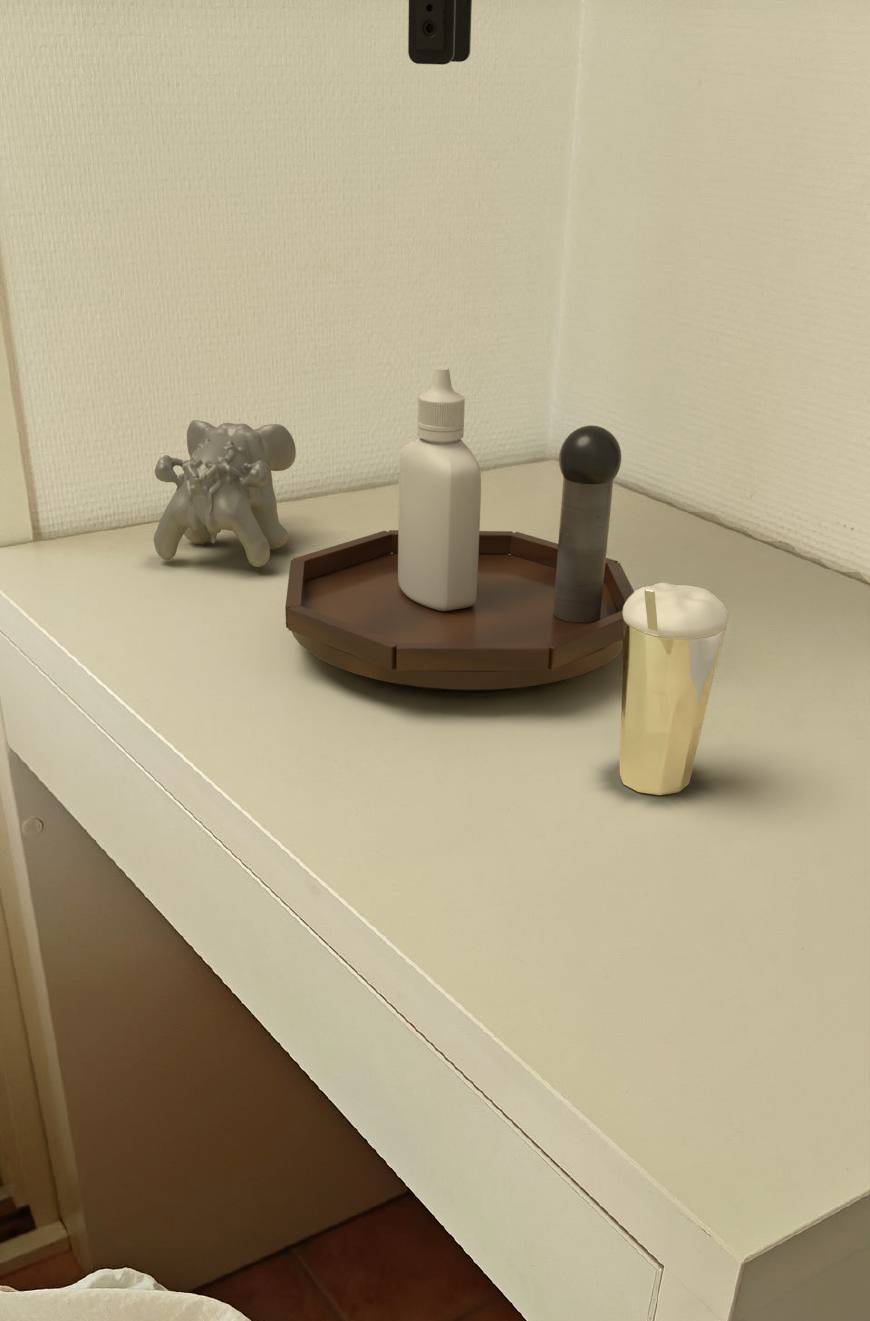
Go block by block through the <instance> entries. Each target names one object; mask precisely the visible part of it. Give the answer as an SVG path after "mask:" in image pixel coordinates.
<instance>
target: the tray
mask: <svg viewBox="0 0 870 1321" xmlns="http://www.w3.org/2000/svg"><path fill="white" fill-rule="evenodd" d="M621 464H622V450H621V446H620V444H619V442H618V439H617V438H616V437H615V435H614V434H613V433H612V432H611V431H610V430H608V429H606V428H605V427H602V426H598V425H585V426H581V427H579V428H577V429H575V430H573V431H572V432H570V433H569V435H568V436H567V437H566V438H565V439H564V441H563V443H562V444H561V447H560V450H559V455H558V466H559V470H560V472H561V475H562V476H563V478H562V489H561V490H562V491H561V505H560V515H559V516H560V517H559V529H558V542H553V541H549V540H546V539H544V538H540V537H536V536H532V535H529V534H525V533H523V532H519V531H515V532H513V531H511V530H480V531H479V555H478V578H477V599H476V602H475V604H474V605H473V606H471V607H467V608H462V609H457V610H451V611H439V610H435V609H432V608H429V607H426V606H423V605H421V604H418V603H416V602H415V601H413V600H411V599H410V598H408V597H407V596H406V595H405V594H404V593H403V591H402V590H401V588H400V586H399V582H398V529H390V530H382V531H379V532H375V533H373V534H369V535H365V536H363V537H359V538H355V539H352V540H349V541H346V542H342V543H339V544H337V545H333V546H329V547H326V548H322V549H320V550H316V551H313V552H311V553H310V552H309V553H306V554H303V555H300V556H297V557H293V558H292V559H291V560H290V564H289V573H288V582H287V589H286V598H285V607H284V608H285V610H284V612H285V628H286V629H287V630H288V631H290V632H291V633H292V636H293V638H294V639H295V640H296V642H297V643H298V644H299V645H300V646H301V647H302V648H303V649H305V650H306V651H307V652H308V653H309V654H311V655H313V656H314V657H315V658H318V659H319V660H321V661H323V662H325V663H327V664H330V665H332V666H333V667H336V668H338V669H341V670H344V671H346V672H349V673H353V674H356V675H359V676H363V677H366V678H370V679H374V680H378V681H382V682H387V683H390V682H392V683H391V684H393V683H397V684H403V685H411V686H418V687H427V688H439V689H458V690H489V689H506V688H519V687H524V688H528V687H532V686H540V685H545V684H551V683H555V682H560V681H564V680H568V679H571V678H575V677H577V676H581V675H584V674H586V673H590V672H591V671H594V670H596V669H598V668H600V667H602V666H604V665H605V664H607V663H609V662H611V661H612V660H613V659H614V658H617V657H618V655H619V654H621V652H623V606H624V604H625V602H626V601H627V599H628V598H629V597H630V596H631V595H632V594H633V593H634V592H635V590H634V588H633V586H632V585H631V583H630V580H629V578H628V577H627V574H626V572H625V570H624V568H623V566H622V564H621V563H620V562H618V560H615V559H612V558H608V557H607V550H608V540H609V530H610V520H611V511H612V499H613V489H614V480H615V479H616V477H617V475H618V474H619V471H620V469H621ZM397 684H396V685H397ZM519 689H520V688H519Z"/></svg>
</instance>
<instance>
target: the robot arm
mask: <svg viewBox="0 0 870 1321" xmlns="http://www.w3.org/2000/svg"><path fill="white" fill-rule="evenodd" d="M472 6H473V0H408V26H407V28H408V36H407V38H408V39H407V42H408V43H407V50H408V51H407V52H408V57H409V59H410V61H411V62H412V63H414V64H416V65H448V64H450V63H452V62H453V63H462V62H465V61H467V60H468V59H469V57H470V54H471V44H472V38H471V37H472V13H473V12H472V10H473V7H472Z"/></svg>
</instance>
